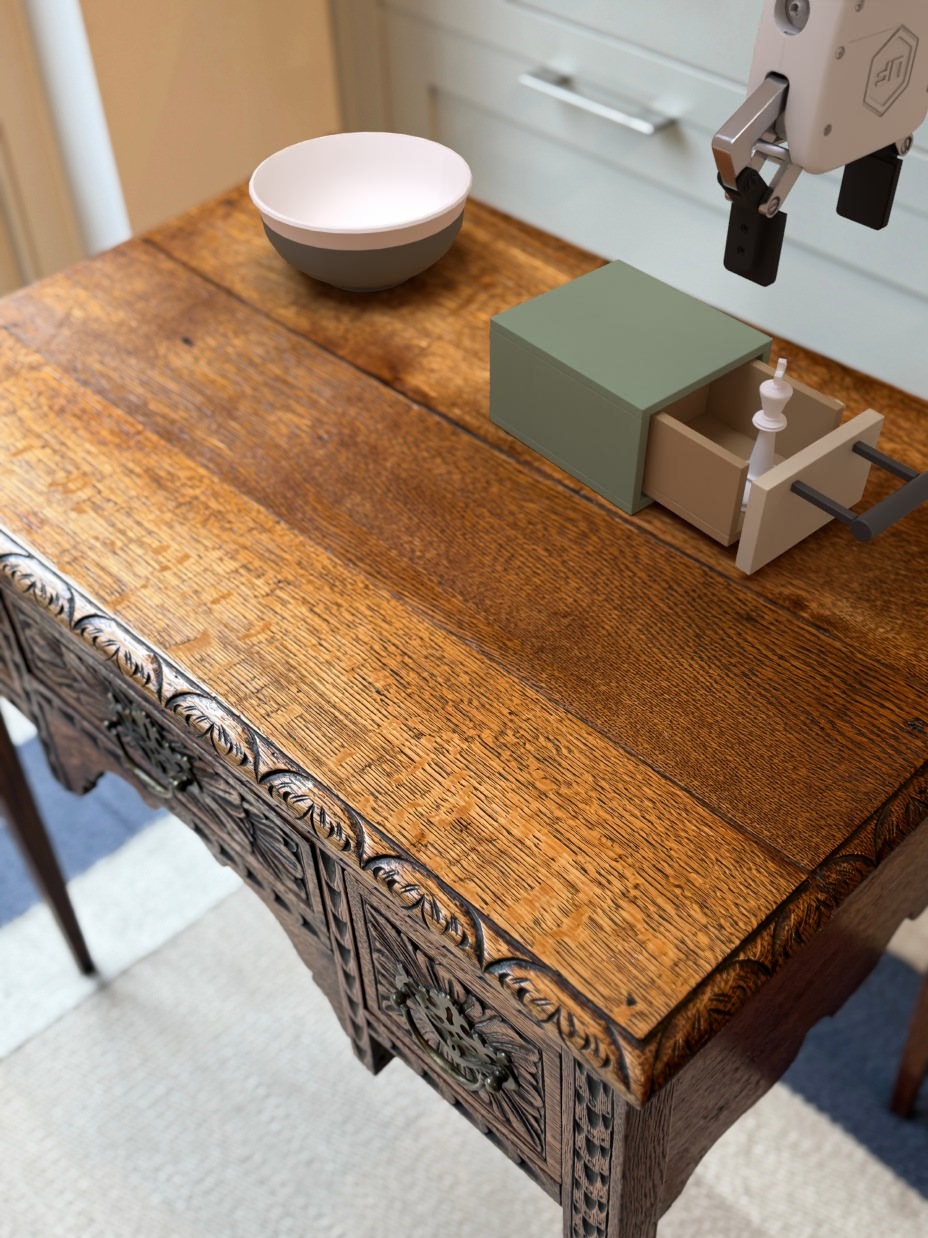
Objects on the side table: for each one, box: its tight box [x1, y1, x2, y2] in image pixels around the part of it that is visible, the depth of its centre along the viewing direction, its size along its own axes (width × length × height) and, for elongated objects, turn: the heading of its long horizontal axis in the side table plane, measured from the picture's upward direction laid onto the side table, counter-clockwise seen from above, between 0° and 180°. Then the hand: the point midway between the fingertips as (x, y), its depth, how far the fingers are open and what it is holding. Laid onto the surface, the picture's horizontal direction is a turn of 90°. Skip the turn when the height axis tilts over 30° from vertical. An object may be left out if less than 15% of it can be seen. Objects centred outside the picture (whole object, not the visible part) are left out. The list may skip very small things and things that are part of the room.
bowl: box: [248, 131, 474, 293], centre depth 101 cm, size 19×19×8 cm
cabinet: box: [489, 259, 774, 516], centre depth 83 cm, size 15×13×9 cm
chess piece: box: [741, 357, 793, 512], centre depth 75 cm, size 5×5×10 cm
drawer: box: [641, 358, 928, 576], centre depth 76 cm, size 19×11×7 cm, turn 40°
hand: (806, 247), depth 66 cm, fingers open, 9 cm apart
